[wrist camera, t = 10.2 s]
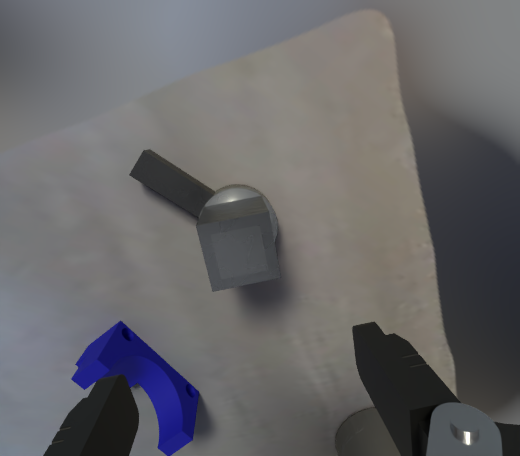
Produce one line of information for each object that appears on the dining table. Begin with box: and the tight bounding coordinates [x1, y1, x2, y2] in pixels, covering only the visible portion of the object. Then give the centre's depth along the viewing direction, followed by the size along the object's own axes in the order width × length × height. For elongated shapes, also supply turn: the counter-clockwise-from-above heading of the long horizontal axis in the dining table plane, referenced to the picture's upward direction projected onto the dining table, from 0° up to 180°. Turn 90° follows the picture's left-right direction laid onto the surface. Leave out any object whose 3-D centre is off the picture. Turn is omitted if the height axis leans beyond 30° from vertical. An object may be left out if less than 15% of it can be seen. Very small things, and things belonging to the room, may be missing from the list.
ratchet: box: [130, 149, 278, 242], centre depth 26 cm, size 14×7×6 cm, turn 55°
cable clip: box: [72, 321, 199, 456], centre depth 31 cm, size 12×4×6 cm, turn 38°
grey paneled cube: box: [196, 196, 281, 292], centre depth 25 cm, size 5×5×6 cm
